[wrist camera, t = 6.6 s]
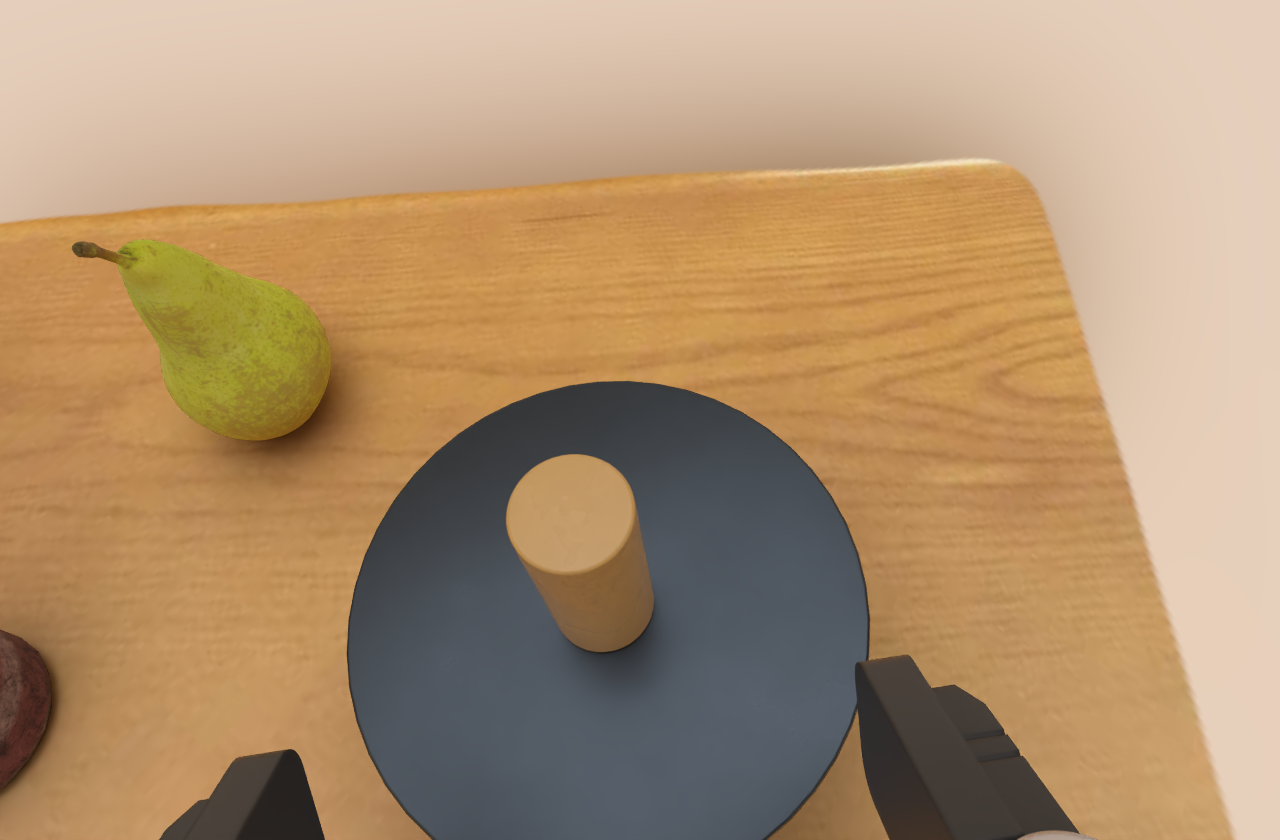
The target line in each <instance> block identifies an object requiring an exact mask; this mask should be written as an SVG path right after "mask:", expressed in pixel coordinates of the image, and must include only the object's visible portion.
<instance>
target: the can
mask: <svg viewBox="0 0 1280 840" xmlns="http://www.w3.org/2000/svg"><path fill="white" fill-rule="evenodd" d="M50 709H51V690H50V679H49V673H48V671H47V669H46V667H45V665H44V663H43V660H42V658H41V656H40V654H39V652H38V651H37V650H35V649H34V648H33V647H32V646H31V645H29V644H28V643H27V642H26V641H24V640H23V639H22V638H20V637H18V636H15V635H12V634H10V633H7V632H5V631H2V630H0V789H1V788H2V787H4V786H5V785H6V784H8V783H9V782H10V781H11V780H12V779H13V778H14V777H15V775H16V774H17V773H18V772H19V771H20V770H21V769H22V767H23V766H24V765H25V764H26V763H27V762H28V761H29V759H30V758H31V756H32V755H33V753H34V751H35V749H36V747H37V745H38V744H39V742H40V740H41V738H42V736H43V734H44V732H45V729H46V725H47V721H48V717H49V713H50Z"/></svg>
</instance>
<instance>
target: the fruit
mask: <svg viewBox="0 0 1280 840" xmlns="http://www.w3.org/2000/svg"><path fill="white" fill-rule="evenodd" d="M72 250H73V252H74V253H75V255H77V256H78V257H86V258H94V257H98V258H102V259H105V260H108V261H111V262H114V263H116V264H117V266H118V270H119V272H120V274H121V276H122V278H123V281H124V284H125V286H126V288H127V291H128V293H129V296H130V298H131V300H132V302H133V304H134V306H135V308H136V310H137V311H138V313H139V315H140V316H141V318H142V320H143V321H144V323H145V324H146V326H147V327H148V329H149V330H150V332H151V333H152V335H153V337H154V338H155V340H156V342H157V344H158V346H159V348H160V362H161V371H162V374H163V377H164V381H165V383H166V386H167V389H168V392H169V393H170V395H171V396H172V398H173V399H174V401H175V402H176V403H177V405H178V406H179V407H180V408H181V410H182V411H183V412H185V413H186V414H187V415H188V416H189V417H190V418H192V419H193V420H194V421H196V422H197V423H198V424H200V425H202V426H204V427H206V428H208V429H210V430H211V431H213V432H215V433H217V434H220V435H223V436H227V437H231V438H235V439H241V440H255V441H258V440H269V439H273V438H276V437H280V436H283V435H285V434H288V433H290V432H292V431H294V430H295V429H297V428H298V427H300V426H301V425H302V424H304V423H305V422H306V421H307V420H308V419H309V418H310V417H311V415H312V414H313V412H314V411H315V409H316V408H317V406H318V405H319V403H320V401H321V399H322V397H323V394H324V392H325V389H326V387H327V384H328V380H329V376H330V371H331V351H330V345H329V342H328V339H327V336H326V333H325V330H324V328H323V327H322V325H321V323H320V321H319V320H318V318H317V317H316V315H315V314H314V312H313V311H312V310H311V309H310V307H309V306H308V305H307V304H306V303H305V302H304V301H303V300H302V299H301V298H299V297H298V296H297V295H295V294H294V293H293V292H291V291H289V290H287V289H284V288H282V287H280V286H277V285H275V284H272V283H269V282H266V281H263V280H260V279H255V278H251V277H247V276H244V275H241V274H239V273H236V272H234V271H232V270H230V269H227V268H225V267H222V266H220V265H217V264H215V263H213V262H211V261H210V260H208V259H206V258H204V257H203V256H201V255H198V254H196V253H194V252H191V251H189V250H186V249H184V248H181V247H178V246H176V245H172V244H169V243H164V242H159V241H154V240H144V239H142V240H134V241H131V242H128V243H126V244H125V245H123V246H122V247H121V248H120V249H119V250H118V252H117V253H116V252H113V251H109V250H106V249H103V248H100V247H99V246H97V245H96V244H94V243H88V242H77V243H75V244H74V245H73V246H72Z"/></svg>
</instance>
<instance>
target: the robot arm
mask: <svg viewBox="0 0 1280 840" xmlns="http://www.w3.org/2000/svg"><path fill="white" fill-rule="evenodd" d="M855 684H856V695H857V706H858V716H859V727H860V738H861V748H862V758H863V764H864V770H865V774H866V779H867V783H868V786H869V790H870V793H871V796H872V799H873V802H874V804H875V807H876V809H877V811H878V814H879V816H880V818H881V821H882V823H883V825H884V827H885V830H886V832H887V834H888V837H889V839H890V840H1097V839H1095V838H1092V837H1089V836H1086V835H1083V834H1080V833H1079V832H1078V831H1077V829H1076V828H1075V826H1074V825H1073V824H1072V822H1071V821H1070V820H1069V818H1068V817H1067V815H1066V814H1065V813H1064V811H1063V810H1062V809H1061V807H1060V806H1059V804H1058V803H1057V802H1056V800H1055V799H1054V798H1053V796H1052V795H1051V794H1050V792H1049V791H1048V789H1047V788H1046V787H1045V785H1044V784H1043V783H1042V781H1041V780H1040V778H1039V777H1038V776H1037V774H1036V773H1035V772H1034V770H1033V769H1032V767H1031V766H1030V765H1029V763H1028V762H1027V761H1026V759H1025V758H1024V757H1023V756H1020V753H1019V750H1018V748H1017V747H1016V746H1015V744H1014V743H1013V741H1012V740H1011V739H1010V737H1009V736H1008V735H1005V733H1004V729H1003V728H1002V726H1001V725H1000V724H999V722H998V721H997V719H996V718H995V717H994V715H993V714H992V713H991V711H990V710H989V709H988V707H987V706H986V704H984V703H983V702H981V701H980V700H978V699H976V698H975V697H973V696H972V695H970V694H969V693H967V692H965V691H964V690H962V689H961V688H959V687H957V686H956V685H949V686H943V687H936V688H931V687H930V686H929V684H928V683H927V681H926V679H925V678H924V676H923V675H922V673H921V672H920V670H919V669H918V667H917V666H916V664H915V662H914V661H913V659H912V658H911V657H910V656H909V655H902V656H895V657H889V658H882V659H876V660H869V661H863V662H857V663H856V664H855ZM159 840H325V838H324V834H323V831H322V828H321V824H320V821H319V818H318V814H317V811H316V807H315V804H314V801H313V797H312V794H311V791H310V787H309V784H308V781H307V777H306V774H305V771H304V767H303V764H302V761H301V759H300V757H299V755H298V754H297V752H296V751H294V750H292V749H288V750H282V751H275V752H269V753H262V754H256V755H249V756H243V757H238V758H236V759H235V760H234V761H233V762H232V763H231V765H230V766H229V768H228V769H227V771H226V773H225V774H224V776H223V777H222V779H221V780H220V782H219V784H218V785H217V787H216V788H215V790H214V791H213V793H212V795H211V796H210V798H209V799H206V800H200V801H198V802H197V803H195V804H194V805H193V806H192V807H191V808H190V809H189V810H188V811H186V812H185V813H184V814H183V815H182V816H181V817H180V818H179V819H177V820H176V821H175V822H174V823H173V824H172V825H171V826H170V827H168V828H167V829H166V830H165V832H164V833H163V835H162V836H161V838H160V839H159Z"/></svg>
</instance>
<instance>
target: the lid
mask: <svg viewBox="0 0 1280 840" xmlns="http://www.w3.org/2000/svg"><path fill="white" fill-rule="evenodd" d="M869 641H870V614H869V605H868V596H867V587H866V582H865V578H864V574H863V570H862V566H861V562H860V558H859V554H858V551H857V549H856V546H855V544H854V541H853V539H852V536H851V533H850V531H849V528H848V526H847V523H846V521H845V520H844V518H843V516H842V514H841V512H840V511H839V509H838V507H837V505H836V503H835V502H834V500H833V498H832V496H831V495H830V493H829V492H828V490H827V489H826V488H825V486H824V485H823V484H822V482H821V481H820V480H819V478H818V477H817V476H816V474H815V473H814V472H813V470H812V469H811V468H810V467H809V466H808V465H807V464H806V463H805V462H804V461H803V460H802V459H801V458H800V456H799V455H798V454H797V453H796V452H795V451H794V450H793V449H792V448H791V447H790V446H789V445H787V444H786V443H785V442H784V441H782V440H781V439H780V438H779V437H777V436H776V435H775V434H774V433H773V432H771V431H770V430H769V429H768V428H766V427H765V426H763V425H761V424H760V423H758V422H757V421H755V420H754V419H752V418H750V417H749V416H747V415H746V414H744V413H742V412H741V411H738V410H736V409H734V408H732V407H730V406H728V405H726V404H724V403H721V402H719V401H717V400H715V399H712V398H709V397H706V396H703V395H700V394H697V393H694V392H691V391H688V390H685V389H680V388H675V387H670V386H665V385H661V384H654V383H643V382H632V381H611V382H593V383H586V384H578V385H571V386H566V387H562V388H558V389H554V390H550V391H546V392H542V393H539V394H536V395H533V396H530V397H528V398H525V399H522V400H520V401H517V402H514V403H512V404H510V405H508V406H506V407H504V408H502V409H500V410H498V411H496V412H494V413H492V414H490V415H488V416H486V417H484V418H482V419H481V420H479V421H478V422H476V423H475V424H473V425H472V426H470V427H468V428H467V429H465V430H464V431H462V432H461V433H459V434H458V435H457V436H456V437H454V438H453V439H452V440H451V441H449V442H448V443H447V444H446V445H445V446H443V447H442V448H441V449H440V450H438V451H437V452H436V453H435V454H434V455H433V456H432V457H431V458H430V459H429V460H428V461H427V462H426V463H425V464H424V465H423V466H422V467H421V468H420V469H419V470H418V471H417V472H416V473H415V474H414V475H413V477H412V478H411V479H410V481H409V482H408V483H407V484H406V486H405V487H404V488H403V490H402V491H401V492H400V493H399V495H398V496H397V497H396V499H395V500H394V501H393V503H392V505H391V506H390V508H389V510H388V511H387V513H386V515H385V516H384V518H383V520H382V521H381V523H380V525H379V526H378V528H377V530H376V532H375V535H374V537H373V539H372V541H371V543H370V546H369V548H368V550H367V552H366V554H365V557H364V560H363V563H362V566H361V569H360V572H359V576H358V579H357V582H356V585H355V589H354V594H353V600H352V605H351V610H350V616H349V624H348V642H347V663H348V676H349V688H350V693H351V698H352V702H353V707H354V712H355V716H356V721H357V724H358V727H359V729H360V732H361V735H362V738H363V740H364V743H365V746H366V749H367V751H368V754H369V756H370V758H371V760H372V762H373V763H374V765H375V767H376V769H377V771H378V773H379V775H380V776H381V778H382V780H383V782H384V784H385V786H386V787H387V788H388V790H389V791H390V792H391V794H392V795H393V796H394V798H395V799H396V800H397V802H398V803H399V805H400V806H401V807H402V809H403V810H404V811H405V813H406V814H407V815H408V816H409V817H410V818H411V819H412V820H413V821H414V822H415V823H416V824H417V825H418V826H419V827H420V828H421V829H422V830H423V831H424V832H425V833H426V834H427V835H428V836H429V837H430V838H431V839H432V840H769V839H770V838H771V837H772V836H773V835H774V834H776V833H777V832H778V831H779V830H780V829H781V828H783V827H784V826H785V825H786V824H787V823H788V822H789V821H790V820H791V819H792V818H793V817H794V815H795V814H796V813H797V812H798V811H799V810H800V809H801V807H802V806H803V805H804V804H805V803H806V802H807V801H808V799H809V798H810V797H811V796H812V795H813V794H814V793H815V791H816V790H817V788H818V787H819V785H820V784H821V782H822V781H823V779H824V778H825V776H826V775H827V773H828V772H829V770H830V768H831V767H832V765H833V764H834V762H835V761H836V759H837V757H838V755H839V753H840V751H841V749H842V746H843V744H844V742H845V740H846V738H847V736H848V734H849V732H850V729H851V727H852V725H853V722H854V719H855V715H856V712H857V709H858V706H857V695H856V684H855V664H856V663H857V662H863V661H868V659H869Z"/></svg>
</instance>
